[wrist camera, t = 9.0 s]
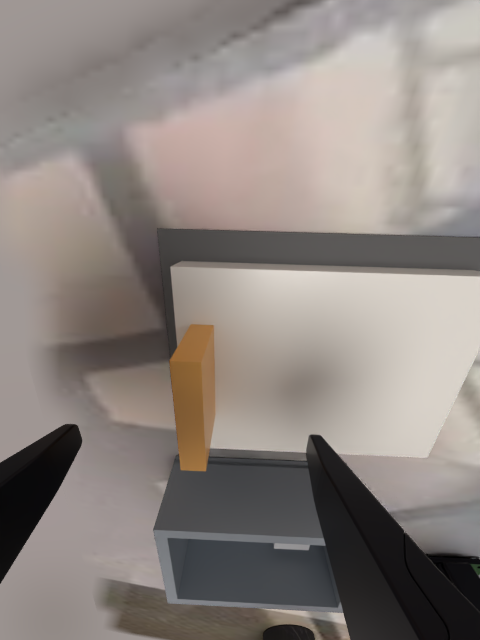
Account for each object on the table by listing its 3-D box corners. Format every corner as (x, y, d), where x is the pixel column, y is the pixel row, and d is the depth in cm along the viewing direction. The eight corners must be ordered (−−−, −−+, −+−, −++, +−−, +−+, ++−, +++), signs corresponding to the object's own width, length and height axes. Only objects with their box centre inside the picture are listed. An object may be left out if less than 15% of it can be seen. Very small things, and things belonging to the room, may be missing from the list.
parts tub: (325, 533, 22) (346, 612, 18) (184, 526, 23) (167, 603, 18) (346, 463, 19) (379, 541, 14) (176, 455, 19) (153, 529, 14)
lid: (407, 432, 17) (477, 522, 12) (192, 423, 17) (169, 507, 12) (473, 270, 12) (634, 300, 7) (181, 261, 12) (136, 283, 7)
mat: (424, 444, 18) (427, 448, 17) (179, 433, 18) (178, 438, 18) (518, 238, 12) (526, 239, 12) (159, 228, 12) (156, 228, 12)
